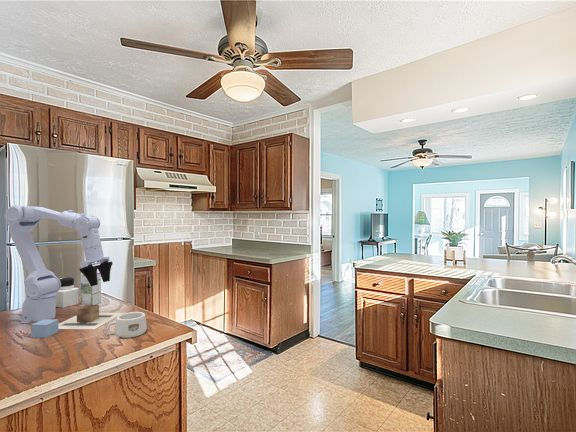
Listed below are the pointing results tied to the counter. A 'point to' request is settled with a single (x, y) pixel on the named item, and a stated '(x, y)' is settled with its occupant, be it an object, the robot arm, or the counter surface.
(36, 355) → the counter surface
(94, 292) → the syrup box
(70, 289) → the medicine bottle
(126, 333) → the mug
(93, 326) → the letter board
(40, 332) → the blue cube
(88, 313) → the block
